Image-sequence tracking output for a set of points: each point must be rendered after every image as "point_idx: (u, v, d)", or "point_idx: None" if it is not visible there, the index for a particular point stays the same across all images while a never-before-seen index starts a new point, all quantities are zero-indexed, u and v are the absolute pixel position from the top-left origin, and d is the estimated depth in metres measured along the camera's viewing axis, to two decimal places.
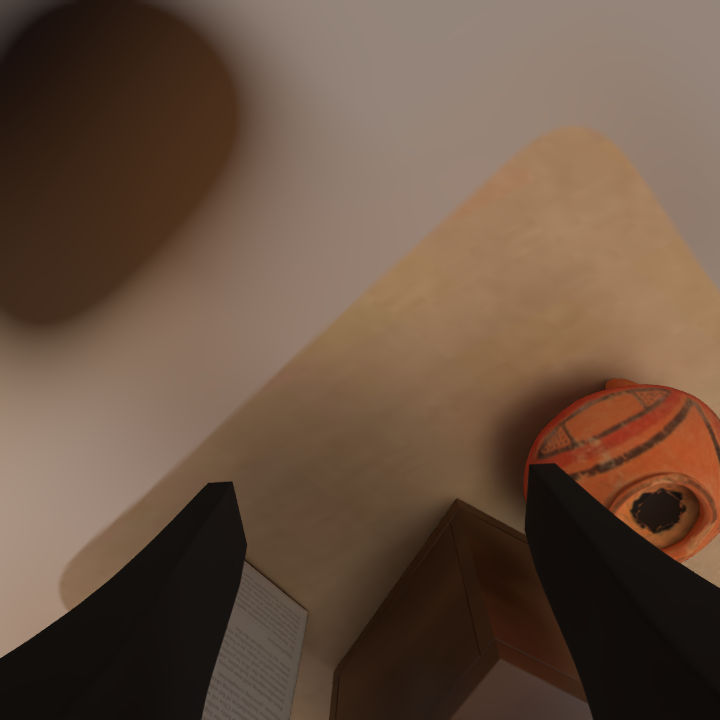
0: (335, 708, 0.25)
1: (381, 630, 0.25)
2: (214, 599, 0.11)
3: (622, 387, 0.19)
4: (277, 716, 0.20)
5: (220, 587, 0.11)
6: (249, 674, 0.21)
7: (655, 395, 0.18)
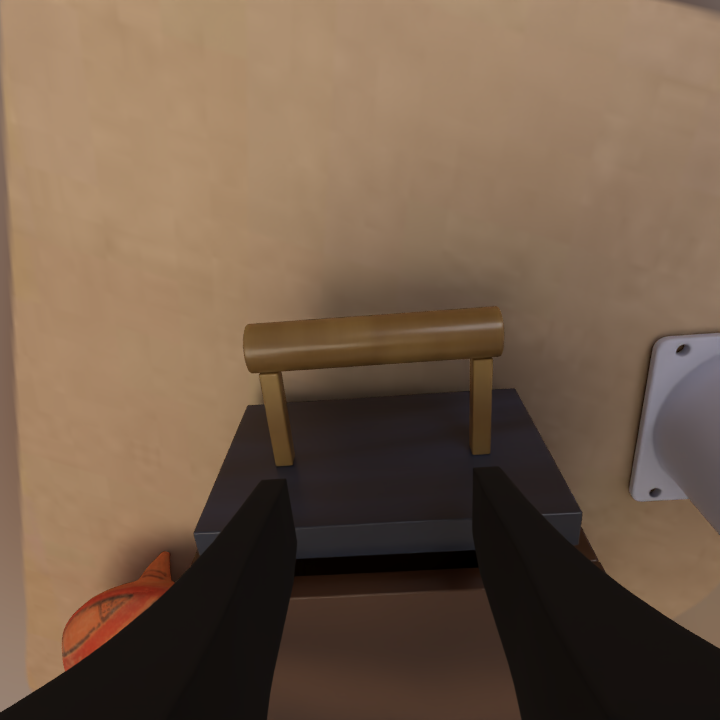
0: None
1: None
2: (275, 596, 0.11)
3: None
4: None
5: (279, 584, 0.11)
6: None
7: None
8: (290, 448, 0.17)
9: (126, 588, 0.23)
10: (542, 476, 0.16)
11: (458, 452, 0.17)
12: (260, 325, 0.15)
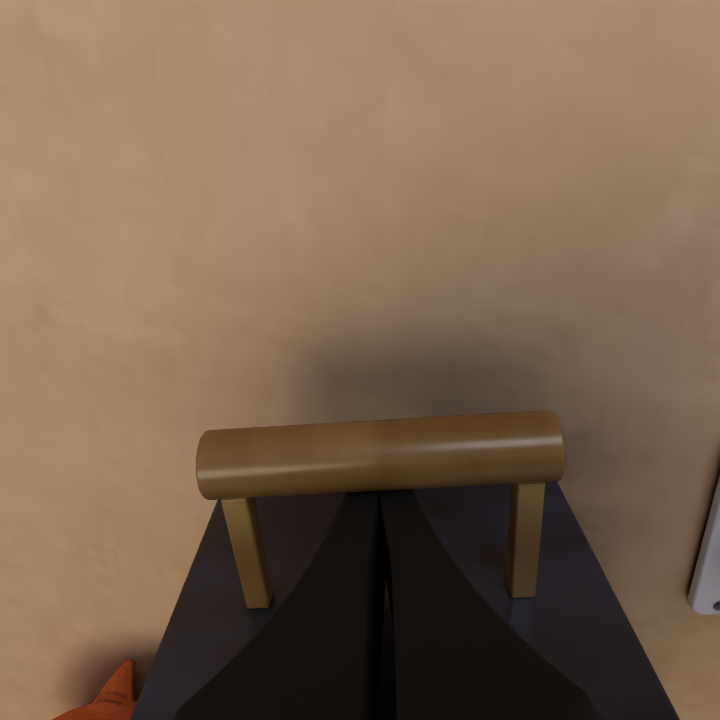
0: None
1: None
2: (379, 592, 0.11)
3: None
4: None
5: (380, 580, 0.11)
6: None
7: None
8: (266, 587, 0.13)
9: None
10: (612, 643, 0.11)
11: (491, 592, 0.13)
12: (221, 436, 0.11)
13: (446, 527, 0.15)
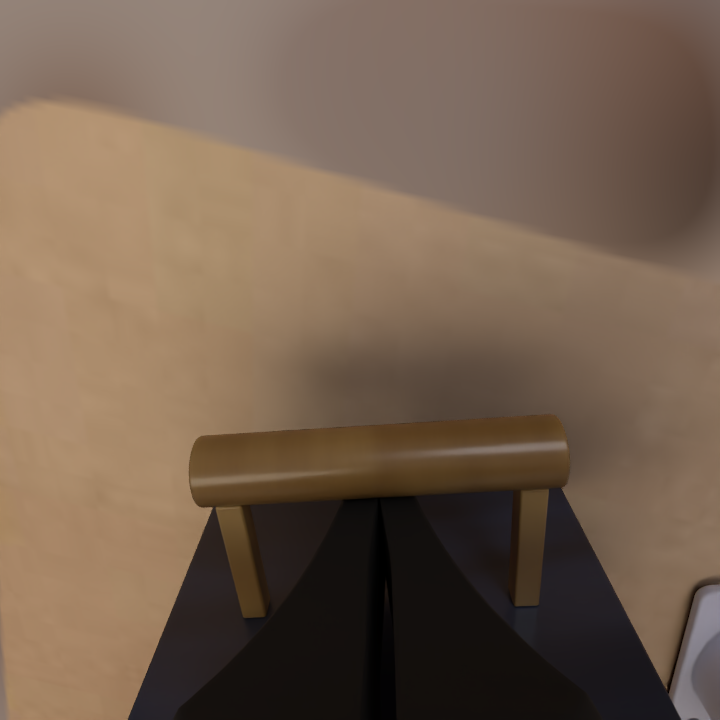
0: None
1: None
2: (379, 592, 0.11)
3: None
4: None
5: (380, 580, 0.11)
6: None
7: None
8: (262, 596, 0.12)
9: None
10: (618, 654, 0.11)
11: (494, 600, 0.12)
12: (215, 442, 0.11)
13: (447, 533, 0.15)
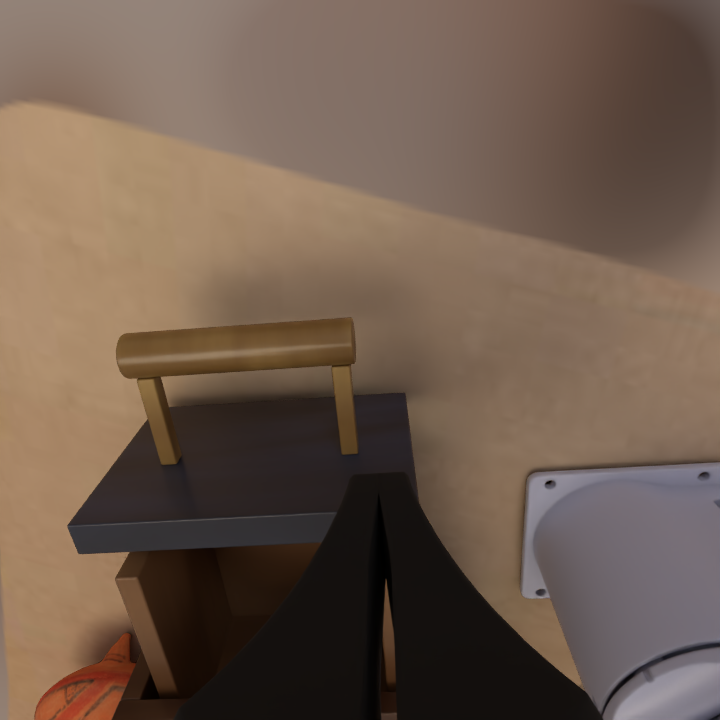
0: None
1: None
2: (379, 592, 0.11)
3: None
4: None
5: (381, 580, 0.11)
6: None
7: None
8: (173, 448, 0.18)
9: (88, 673, 0.27)
10: None
11: (330, 452, 0.18)
12: (134, 334, 0.17)
13: (314, 420, 0.21)
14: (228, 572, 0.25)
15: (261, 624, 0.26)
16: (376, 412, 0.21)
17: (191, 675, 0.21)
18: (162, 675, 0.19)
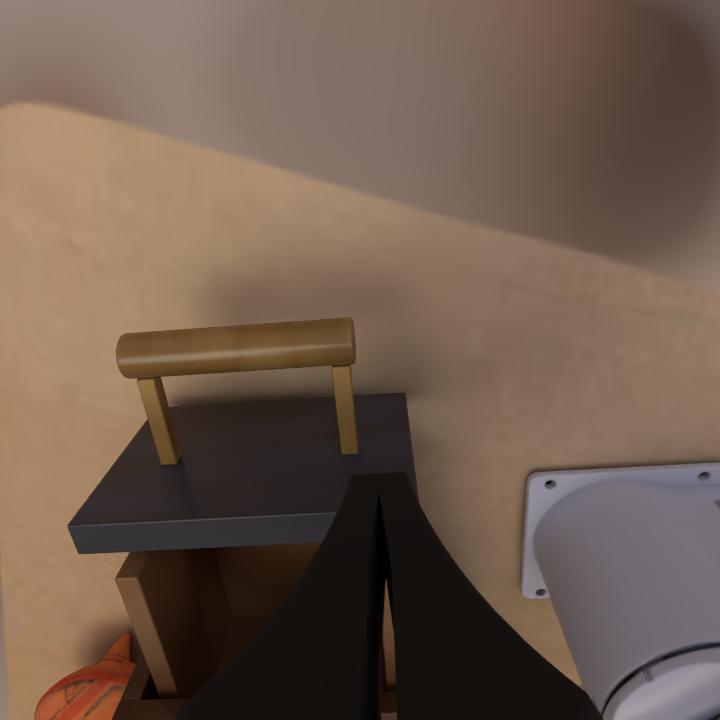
0: None
1: None
2: (379, 592, 0.11)
3: None
4: None
5: (381, 580, 0.11)
6: None
7: None
8: (173, 448, 0.18)
9: (88, 673, 0.27)
10: None
11: (330, 452, 0.18)
12: (134, 334, 0.17)
13: (314, 420, 0.21)
14: (228, 572, 0.25)
15: (261, 624, 0.26)
16: (376, 412, 0.21)
17: (191, 675, 0.21)
18: (162, 675, 0.19)
